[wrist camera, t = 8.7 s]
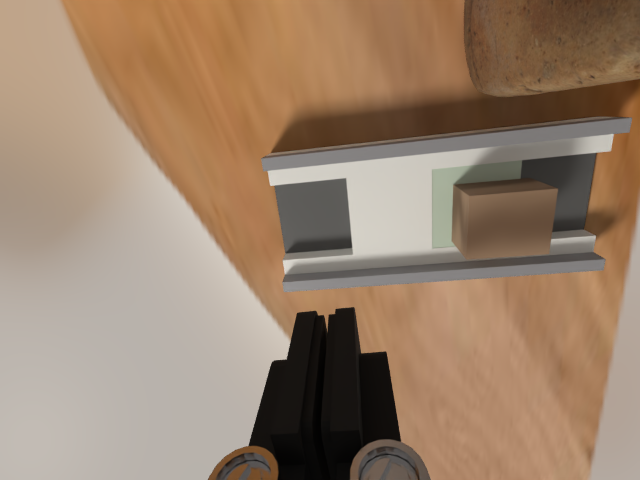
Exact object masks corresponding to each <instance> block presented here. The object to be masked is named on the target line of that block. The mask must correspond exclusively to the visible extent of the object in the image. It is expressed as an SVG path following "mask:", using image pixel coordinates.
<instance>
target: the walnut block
mask: <svg viewBox="0 0 640 480" xmlns="http://www.w3.org/2000/svg"><path fill="white" fill-rule="evenodd" d="M557 193H558V188H555V187H553V186H550V185H547V184H545V183H542V182H539V181H537V180H534V179H532V178H522V179H510V180H499V181H488V182H476V183H465V184H453V206H452V240H451V241H452V242H453V243H454V245H455V246H456V247H457V248H458V250H459V251H460V252H461V253H462V255H463V256H464V257H465V258H466V260H468V259H483V258H498V257H513V256H528V255H543V254H549V251H550V244H551V237H552V229H553V222H554V215H555V208H556V200H557Z"/></svg>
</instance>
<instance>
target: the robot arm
mask: <svg viewBox="0 0 640 480" xmlns="http://www.w3.org/2000/svg"><path fill="white" fill-rule="evenodd" d="M208 480H431V479H430V476H429V474H428V471H427V468H426V466H425V464H424V462H423V461H422V459H421V457H420V456H419V455H418V454H417V453H416V452H415V451H414V450H413V449H412V448H411V447H409V446H407V445H406V444H404V443H402V442H401V438H400V432H399V426H398V420H397V413H396V407H395V401H394V395H393V389H392V383H391V377H390V370H389V364H388V358H387V353H386V352H375V353H362V354H361V350H360V342H359V335H358V328H357V321H356V314H355V308H354V307H351V308H341V309H336V311H335V314H331V315H329V319H328V333H327V328H326V323H325V318H324V315H320V316H318V314H317V312H316V311H310V312H299V313H297V316H296V320H295V325H294V329H293V334H292V338H291V343H290V348H289V352H288V356H287V360H276V361H273V362H272V364H271V367H270V370H269V374H268V378H267V381H266V385H265V388H264V392H263V396H262V399H261V403H260V406H259V410H258V413H257V417H256V421H255V424H254V428H253V432H252V435H251V439H250V443H249V446H246V447H243V448H240V449H237V450H235V451H233V452H232V453H230V454H229V455H227V456H225V457H224V458H223V459H222V460H221V461H220V462H219V463H218V464H217V465H216V467H215V468H214V470H213V472H212V473H211V475H210V476H209V478H208Z"/></svg>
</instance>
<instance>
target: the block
mask: <svg viewBox="0 0 640 480" xmlns="http://www.w3.org/2000/svg"><path fill="white" fill-rule="evenodd" d="M464 43H465V52H466V60H467V64H468V68H469V73H470V77H471V79H472V82H473V84H474V86H475V87H476V88H477V90H478V91H480V92H482V93H484V94H489V95H493V96H498V97H511V96H520V95H534V94H542V93H546V92H553V91H560V90H568V89H574V88H581V87H588V86H595V85H602V84H609V83H615V82H622V81H629V80H636V79H640V0H465V6H464Z"/></svg>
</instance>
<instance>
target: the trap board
mask: <svg viewBox="0 0 640 480" xmlns="http://www.w3.org/2000/svg"><path fill="white" fill-rule="evenodd" d="M631 121H632V118H629V117H599V116H598V117H589V118H580V119H571V120H562V121H554V122H545V123H536V124H527V125H518V126H509V127H500V128H491V129H482V130H473V131H464V132H455V133H446V134H438V135H429V136H420V137H411V138H402V139H393V140H384V141H375V142H366V143H357V144H348V145H339V146H330V147H321V148H313V149H304V150H295V151H286V152H277V153H270V154H268V155H266V156H265V157H263V158H261V160H262V166H263V171H268V175H269V181H270V186H275V192H276V198H277V204H278V210H279V217H280V223H281V229H282V235H283V241H284V247H285V253H286V254H285V256H284V258H283V265H284V271H285V277H284V279H283V282H282V283H283V289H284V292H293V291H307V290H322V289H336V288H351V287H365V286H380V285H394V284H409V283H424V282H438V281H453V280H467V279H482V278H496V277H511V276H525V275H540V274H555V273H569V272H584V271H598V270H604V264H605V259H604V258H603V257H601V256H599V255H597V254H596V253H594V252H593V250H594V245H595V239H596V235H594V234H592V233H590V232H588V231H586V230H584V226H585V219H586V213H587V207H588V201H589V194H590V188H591V182H592V175H593V169H594V163H595V157H596V153H597V152H607V151H611V147H612V141H613V135H614V134H618V133H627V132H630V126H631ZM522 178H532V179H534V180H537V181H539V182H542V183H545V184H547V185H550V186H553V187H555V188H558V193H557V200H556V208H555V215H554V222H553V229H552V237H551V244H550V251H549V254H543V255H528V256H513V257H498V258H483V259H468V260H466V258H465V257H464V256H463V255H462V253H461V252H460V251H459V250H458V248H457V247H456V246H455V245H454V243H453V242H452V241H451V240H452V206H453V184H465V183H476V182H488V181H499V180H510V179H522Z"/></svg>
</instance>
